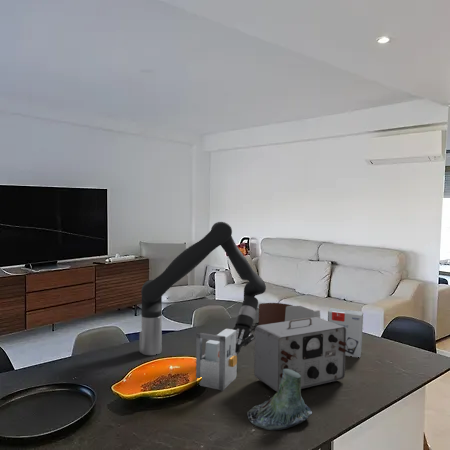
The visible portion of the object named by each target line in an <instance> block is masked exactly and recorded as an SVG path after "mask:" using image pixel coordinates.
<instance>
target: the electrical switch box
mask: <svg viewBox="0 0 450 450" xmlns="http://www.w3.org/2000/svg"><path fill="white" fill-rule="evenodd" d="M308 317H310V318H313V317H319V318H321V309H319V308H312V307H305V306H303V305H293V306H287V307H286V312H285V321H290V320H294V319H301V318H308Z"/></svg>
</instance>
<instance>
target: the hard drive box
mask: <svg viewBox="0 0 450 450" xmlns="http://www.w3.org/2000/svg"><path fill="white" fill-rule="evenodd" d="M327 321H329V322H332V323H335V324H337V325H340V326H343V327H345V328H346V352H345V357H346V356H347V357H350V356H352V357H351V358H358V357H359V358H358V359H360V358H361V356H362V353H361V352H362V349H363V346H362V345H363V328H364V327H363V325H364V311H360V310H354V309H353V310H351V309H344V308H343V309H342V308H335V307H334V308H333V307H330V308H329V310H327Z"/></svg>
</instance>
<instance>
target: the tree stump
mask: <svg viewBox="0 0 450 450" xmlns="http://www.w3.org/2000/svg"><path fill="white" fill-rule="evenodd" d="M301 391H302V389H301V375H300V374H299V373H297V372H295V371H293V370H290V369H283V375H282V379H281V383H280V386H279V390H278V392H275V393H274V395H273V396H272V397H270V399H268V400H265V401H264V402H263V403H261V404H258V405H257V404H256V405H255V406H252V408H251V409H249V410H248V411H247V412H246V413H247V419H248V420H249V422H250V423H251V424H252V425H254V426H256V427H257V428H260V429H261V428H262V429H264V430H267V431H281V430H286V429H289V428H292V427H295V426H297V425H299V424H301V423H303V422H304V421H306V420H308V419H309V418H310V416H311V415H312V414H313V411H312V408H311V407H309V406H308V405H307V404H305V401H304V399H303V397H302V393H301Z"/></svg>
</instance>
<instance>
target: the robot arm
mask: <svg viewBox="0 0 450 450" xmlns="http://www.w3.org/2000/svg"><path fill="white" fill-rule="evenodd" d="M232 235H233V230H232V226H231V225H230V224H228V223H227V222H224V221H218V222H215V223H213V225H212V227H211V229H210V231H209V232H208V233H206V235H204V236H203V237H202V239H200V240H198V241H197V242H195V243H194V244H192V245H190V246H189V247H187V248H186V249H184V250H183V251H182V252H181V253H179V255H177V256H176V257H175V258H174V259H173V260H172V261H171V263H170V264H169V265H168V266H167V267H166V269H165V270H164V271H162V273H161V274H159V275H158V276H157V277H155V278H154V279H148V280H146V281H144V283H143V284H142V286H141V290H140V291H141V293H140V294H141V311H140V312H141V313H140V314H141V319H140V321H141V325H140V326H141V327H140V328H141V329H140V330H141V331H139V353H141V354H142V355H144V356H156V354H157V355H159V354H161V353H162V348H163V347H162V344H163V343H162V339H163V338H162V336H163V335H162V333H163V332H162V331H163V329H162V326H163V325H162V324H163V323H162V319H163V316H162V313H163V311H162V309H163V307H162V304H163V301H162V300H163V298H162V297H163V295H164V294H165V293H166V292H168V290H169V289H170V288H171V287H172V286H173V285H175V284H176V283H178V282H179V281H180V280H181V279H183V278H184V277H185V276H187V275H188V274H190V272H192V271H193V270H194V269H195V268H196V267H198V265H200V264H201V263H202V262H203V261H204V260H205V259H206V258H207V257H208V256H209V255H210V254H211V253H212V252H213V251H214V250H216V249H217V248H218V247H221V248H222V249H223V252H225V254H226V255H227V257H228V259H229V260H230V263H231V265H232V267H234V269H235V271H236V273H237V275H238V276H239V277H240V279H241V280H242V281H248V282H247V283H246V284H245V285H244V286H243V287H244V288H243V301H242V304H241V307H240V309H239V311H238V314H237V318H236V321H235V325H234V327H233V329H232V330H236V348H235V353H237V355H238V354H240V352H241V349H242V347H246V346H247V345H249V344H250V343H252V342H253V341H255V334H253V333H252V330H253V326H254V322H255V319H256V313H257V310H258V307H259V300H258V299H257V298H256V296H259V295H263V294H264V293H265V292H266V289H267V286H266V282H265V281H264V279H263V278H262V277H261V276H260V275H259V274H258V273H257V272H256V271H254V269H253V268H252V266H251V264H250V263H249V261H248V260H247V257H246V256H245V255H244V253H243V252H242V251H241V250H240V248H239V247H238V245H237V244H236V242H235V241H234V238H233V236H232Z"/></svg>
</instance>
